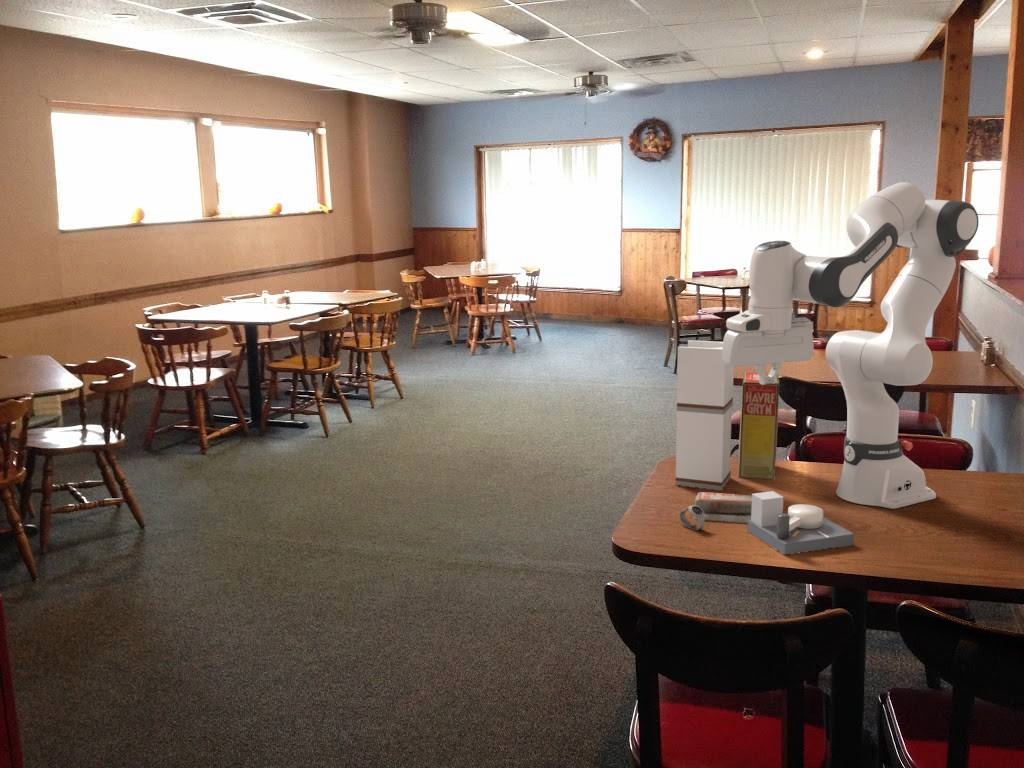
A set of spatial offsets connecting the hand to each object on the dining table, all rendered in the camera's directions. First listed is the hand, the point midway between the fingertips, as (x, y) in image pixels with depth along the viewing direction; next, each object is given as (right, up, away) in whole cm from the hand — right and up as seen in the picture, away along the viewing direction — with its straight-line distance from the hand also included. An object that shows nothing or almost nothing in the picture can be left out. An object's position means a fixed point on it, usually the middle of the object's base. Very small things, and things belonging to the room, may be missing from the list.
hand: (767, 383), depth 188 cm
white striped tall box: (-6, -25, +34) cm, 43 cm away
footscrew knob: (+5, -30, -5) cm, 31 cm away
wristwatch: (-15, -32, +4) cm, 35 cm away
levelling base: (+6, -32, -3) cm, 33 cm away
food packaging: (+9, -23, +42) cm, 48 cm away
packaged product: (-4, -30, +11) cm, 33 cm away
